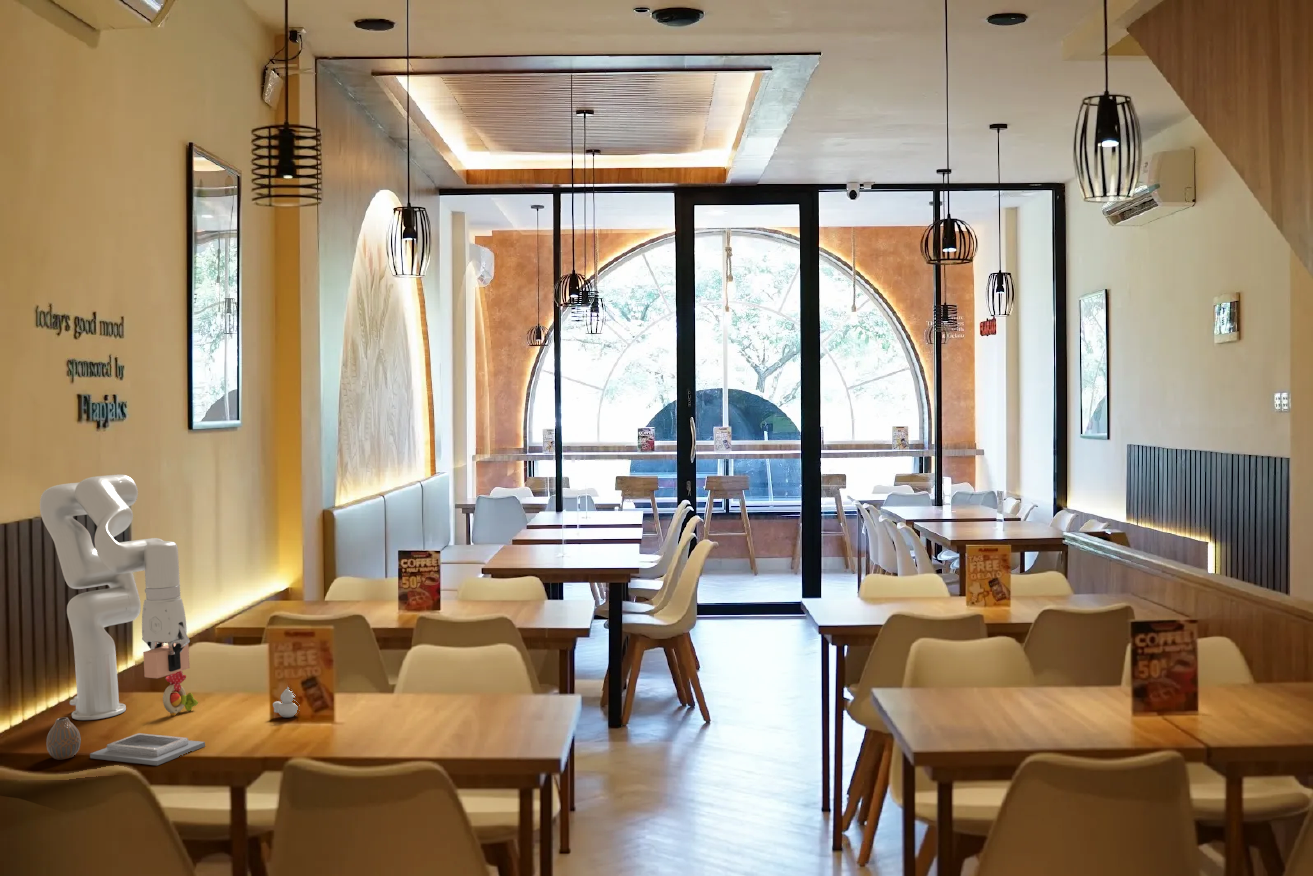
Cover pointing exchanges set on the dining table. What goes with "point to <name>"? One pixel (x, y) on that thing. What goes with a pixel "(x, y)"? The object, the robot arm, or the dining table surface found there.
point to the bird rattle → (177, 695)
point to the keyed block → (163, 661)
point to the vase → (63, 739)
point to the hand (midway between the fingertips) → (167, 668)
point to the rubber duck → (286, 704)
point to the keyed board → (147, 749)
